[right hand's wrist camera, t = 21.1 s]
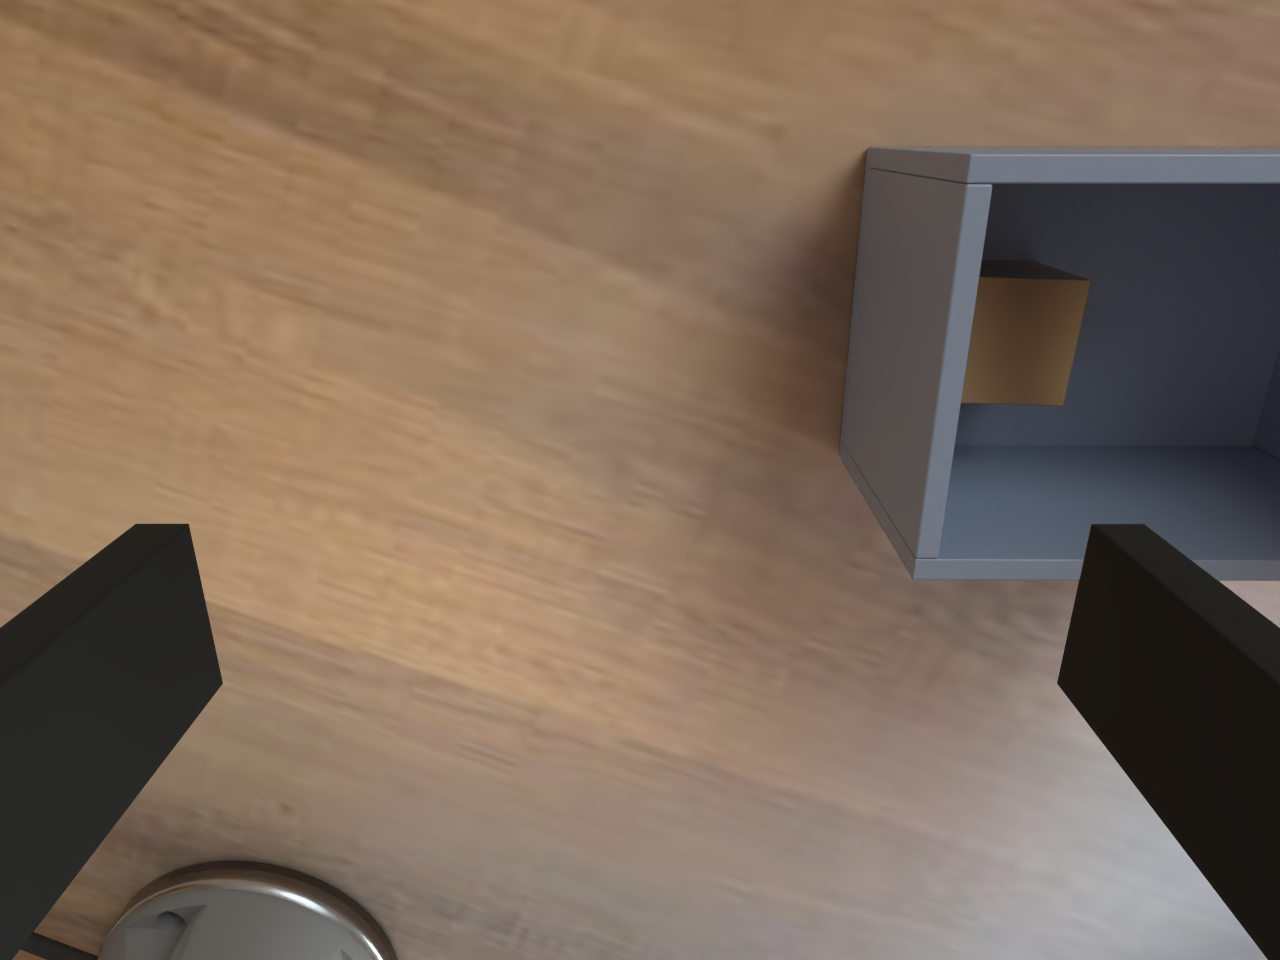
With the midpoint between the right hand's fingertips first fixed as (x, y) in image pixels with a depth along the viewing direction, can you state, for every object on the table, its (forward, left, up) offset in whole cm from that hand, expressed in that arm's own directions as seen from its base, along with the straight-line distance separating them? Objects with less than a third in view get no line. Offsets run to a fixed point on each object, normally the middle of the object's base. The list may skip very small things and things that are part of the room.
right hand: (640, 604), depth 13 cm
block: (+11, +5, -22) cm, 25 cm away
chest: (+15, +7, -22) cm, 28 cm away
